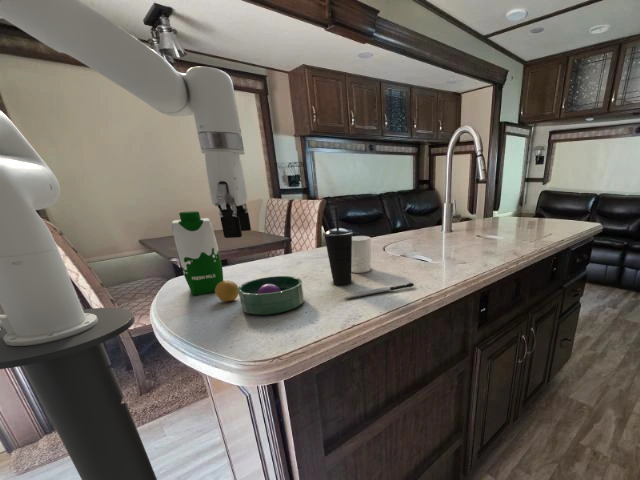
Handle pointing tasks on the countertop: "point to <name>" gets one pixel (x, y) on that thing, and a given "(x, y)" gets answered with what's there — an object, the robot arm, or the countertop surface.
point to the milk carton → (197, 252)
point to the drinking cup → (339, 253)
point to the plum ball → (268, 289)
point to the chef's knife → (379, 290)
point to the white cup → (361, 254)
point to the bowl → (271, 295)
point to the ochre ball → (226, 291)
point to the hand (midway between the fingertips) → (238, 233)
